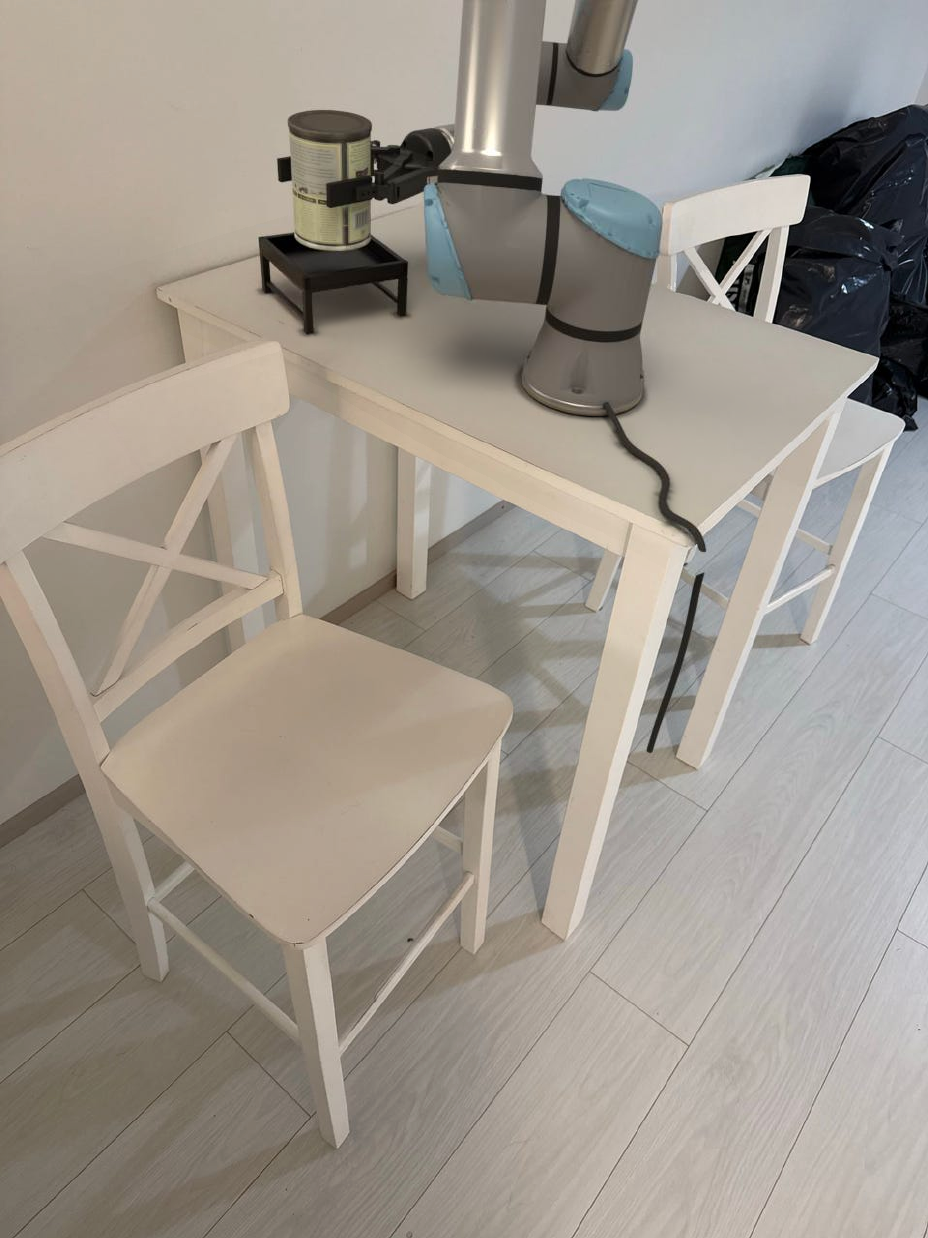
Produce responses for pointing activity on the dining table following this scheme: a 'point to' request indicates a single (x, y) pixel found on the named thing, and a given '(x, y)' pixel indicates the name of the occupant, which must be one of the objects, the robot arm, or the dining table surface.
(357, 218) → the coffee can
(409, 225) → the dining table surface
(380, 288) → the stand
